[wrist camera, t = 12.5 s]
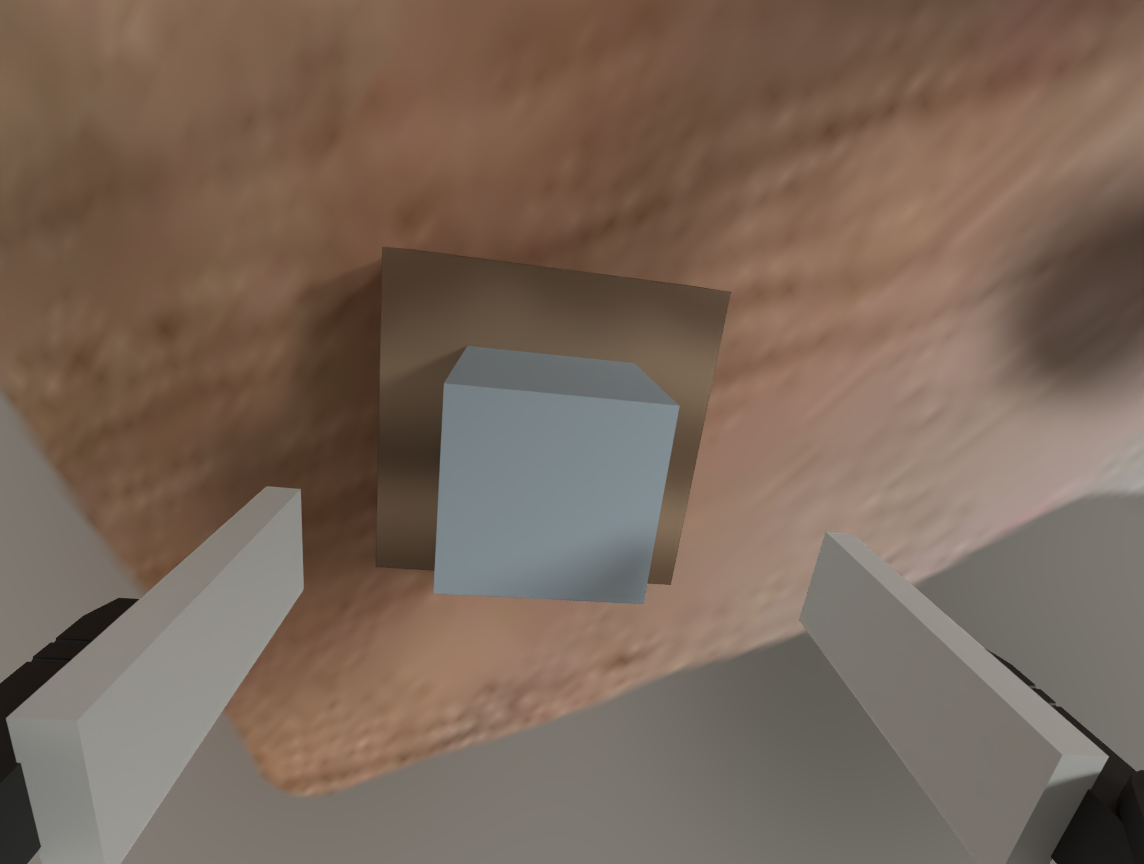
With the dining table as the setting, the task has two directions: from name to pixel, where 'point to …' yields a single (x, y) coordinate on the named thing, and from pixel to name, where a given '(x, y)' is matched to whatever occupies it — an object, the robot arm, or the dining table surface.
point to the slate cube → (550, 477)
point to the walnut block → (529, 324)
